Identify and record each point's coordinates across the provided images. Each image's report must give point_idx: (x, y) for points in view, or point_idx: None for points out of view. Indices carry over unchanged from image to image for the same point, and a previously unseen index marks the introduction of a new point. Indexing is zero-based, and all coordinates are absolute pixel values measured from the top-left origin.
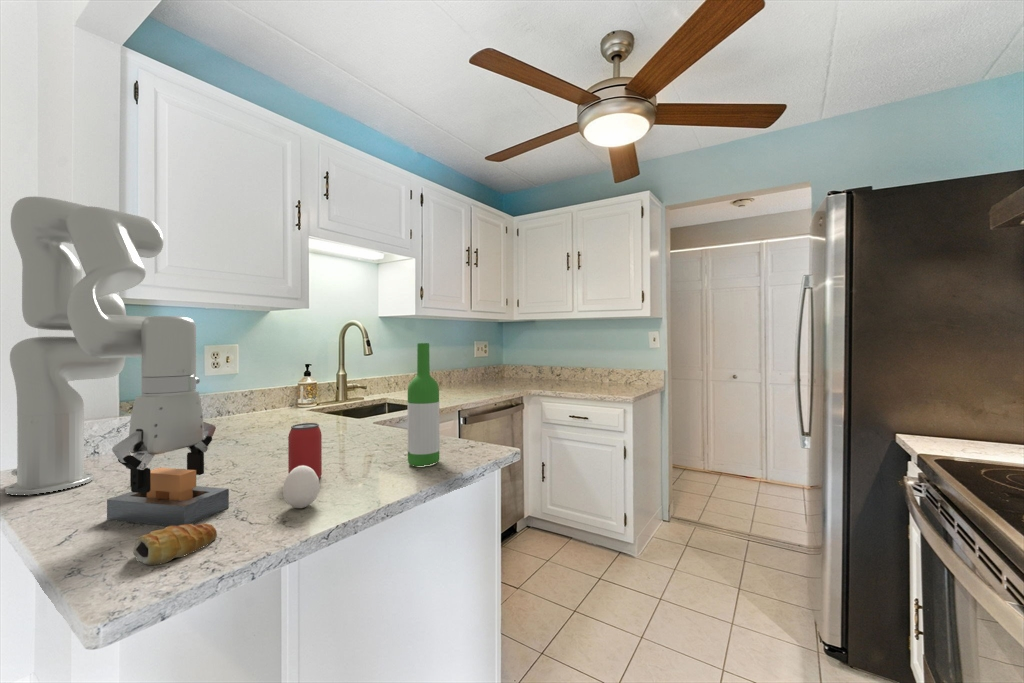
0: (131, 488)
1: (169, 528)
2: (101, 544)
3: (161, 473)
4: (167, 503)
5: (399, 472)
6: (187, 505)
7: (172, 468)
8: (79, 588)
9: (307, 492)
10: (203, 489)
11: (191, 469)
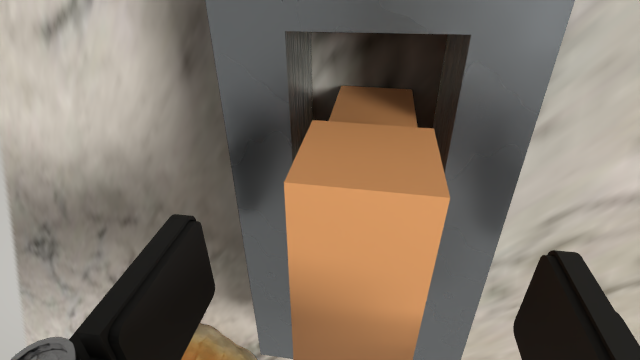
0: (165, 225)
1: None
2: (124, 174)
3: (300, 316)
4: (264, 296)
5: None
6: (274, 354)
7: (424, 302)
8: (38, 301)
9: None
10: (437, 315)
11: (542, 307)
